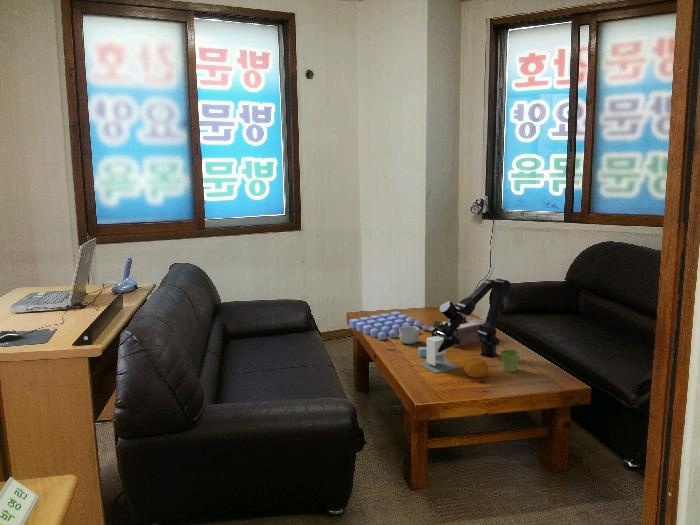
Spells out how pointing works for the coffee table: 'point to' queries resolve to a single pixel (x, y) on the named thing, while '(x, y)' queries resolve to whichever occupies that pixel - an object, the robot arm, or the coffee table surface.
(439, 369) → the mat
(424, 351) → the block
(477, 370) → the fruit
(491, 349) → the robot arm
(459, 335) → the tissue box cover
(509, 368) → the plant pot
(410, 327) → the teacup
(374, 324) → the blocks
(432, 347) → the tall white pillar
